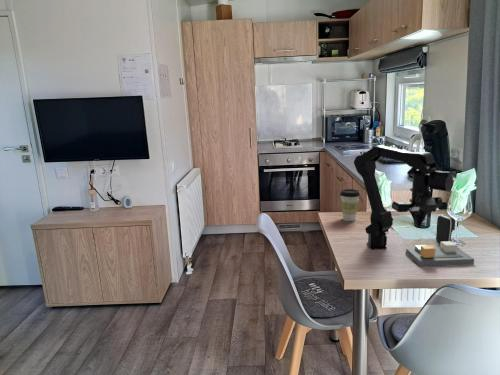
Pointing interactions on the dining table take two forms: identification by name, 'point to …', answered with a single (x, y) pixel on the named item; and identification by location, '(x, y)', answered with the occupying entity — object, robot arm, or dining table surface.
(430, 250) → the block slider
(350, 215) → the coffee cup
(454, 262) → the panel
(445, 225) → the battery charger
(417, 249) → the grey button
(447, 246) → the cream button
